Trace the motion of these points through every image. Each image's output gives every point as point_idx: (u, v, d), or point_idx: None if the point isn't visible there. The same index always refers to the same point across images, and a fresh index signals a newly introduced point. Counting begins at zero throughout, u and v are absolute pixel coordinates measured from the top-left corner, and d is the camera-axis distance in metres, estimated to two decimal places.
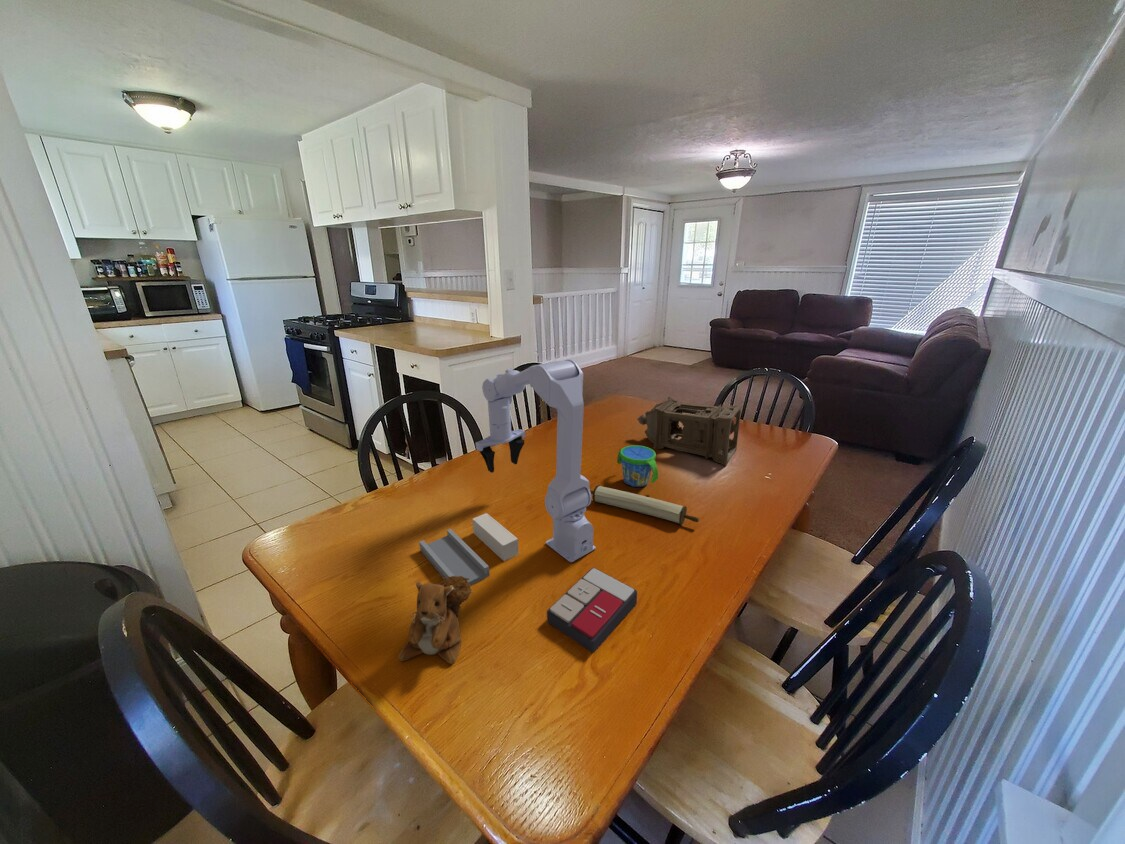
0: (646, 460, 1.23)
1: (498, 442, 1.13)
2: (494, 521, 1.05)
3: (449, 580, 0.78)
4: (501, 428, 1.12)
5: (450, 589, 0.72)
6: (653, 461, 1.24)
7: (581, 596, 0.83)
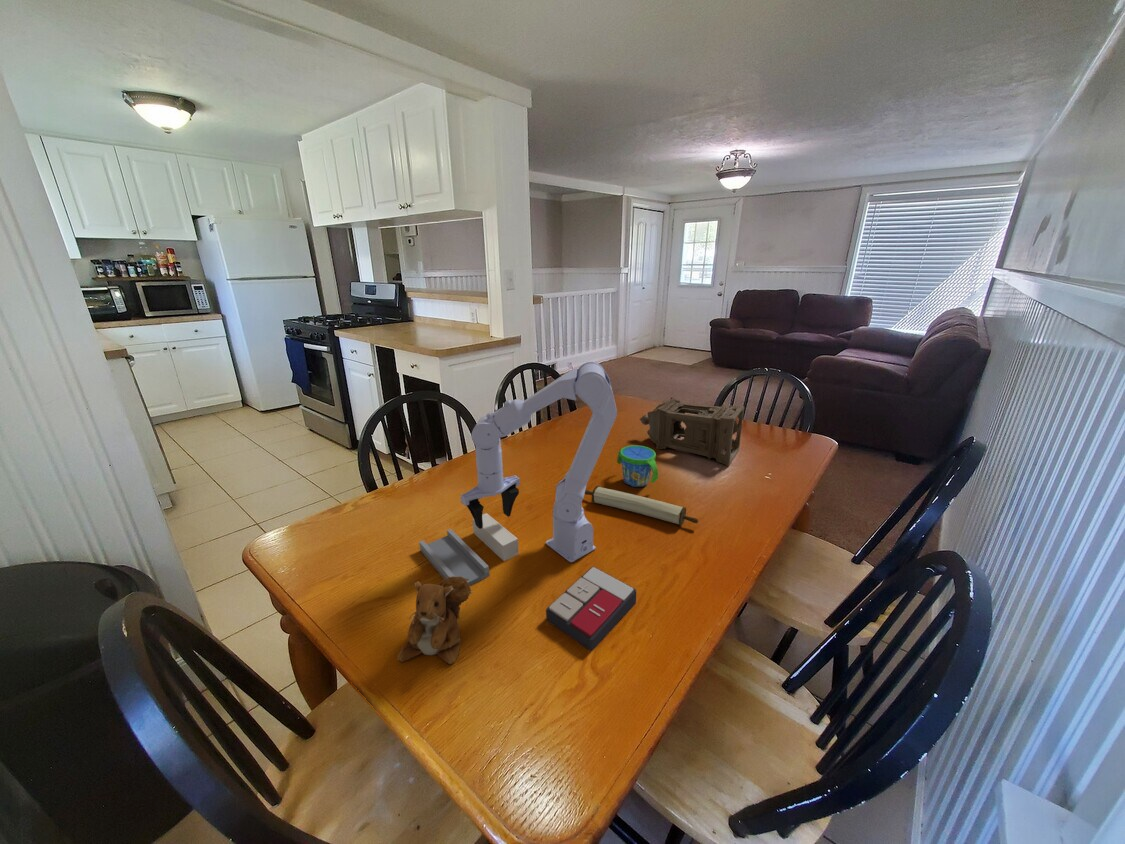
0: (646, 460, 1.23)
1: (487, 494, 0.95)
2: (494, 521, 1.05)
3: (448, 580, 0.78)
4: (491, 478, 0.94)
5: (449, 589, 0.72)
6: (653, 461, 1.24)
7: (581, 594, 0.83)
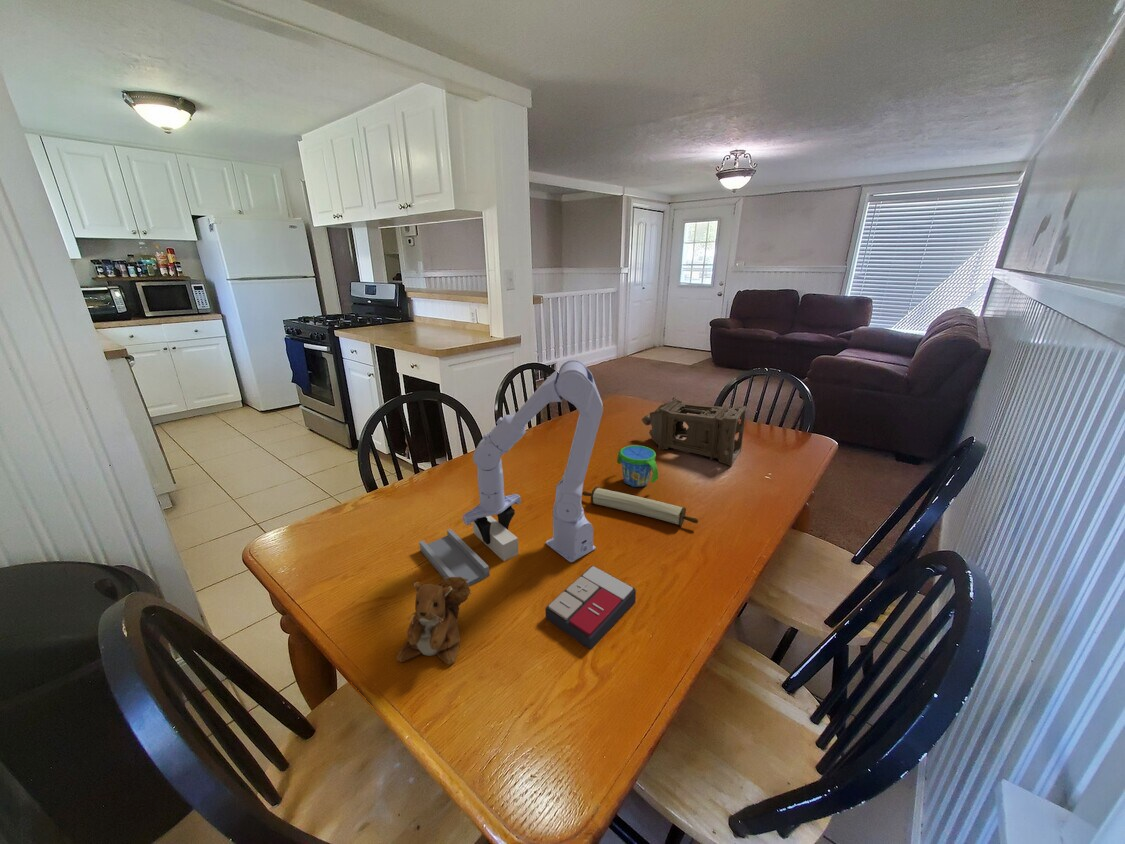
0: (646, 460, 1.23)
1: (489, 514, 0.97)
2: (494, 520, 1.05)
3: (448, 581, 0.78)
4: (492, 498, 0.96)
5: (449, 590, 0.72)
6: (653, 461, 1.24)
7: (580, 593, 0.83)
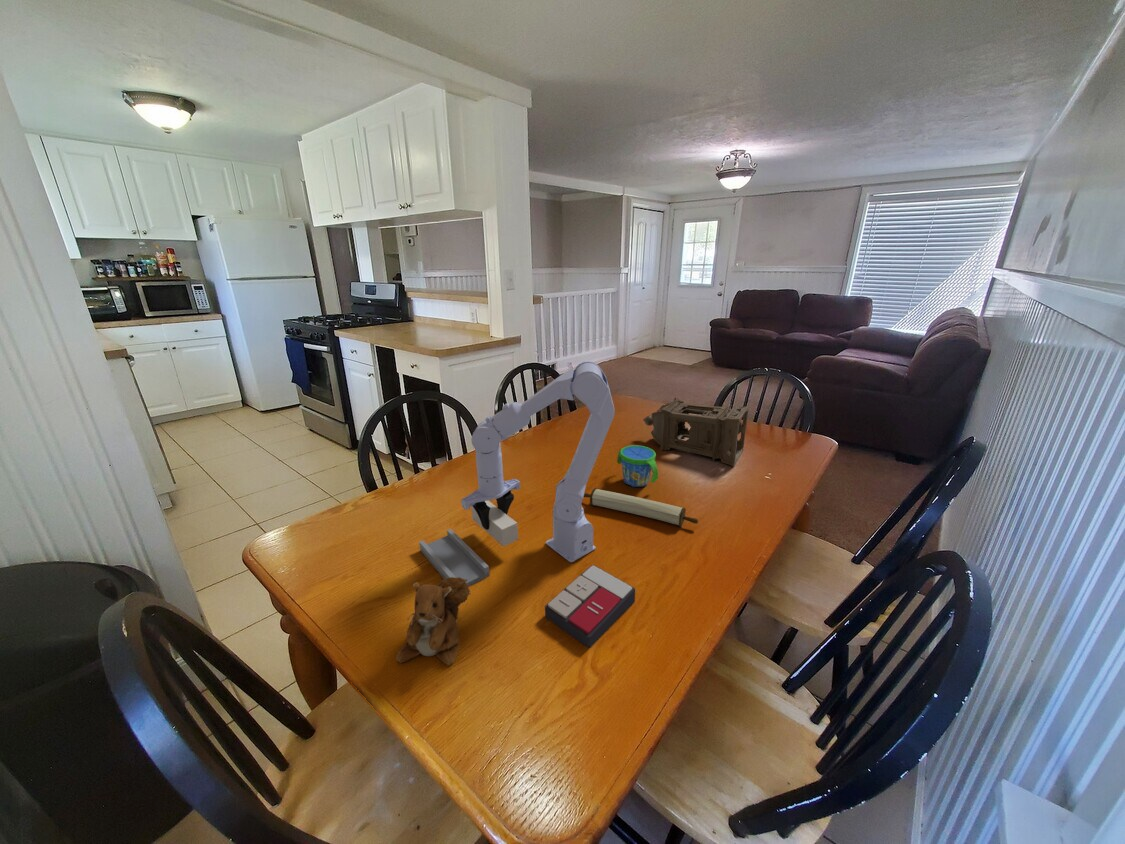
0: (646, 460, 1.23)
1: (488, 498, 0.95)
2: (493, 506, 1.03)
3: (447, 581, 0.78)
4: (491, 482, 0.94)
5: (448, 590, 0.72)
6: (653, 461, 1.24)
7: (580, 592, 0.83)
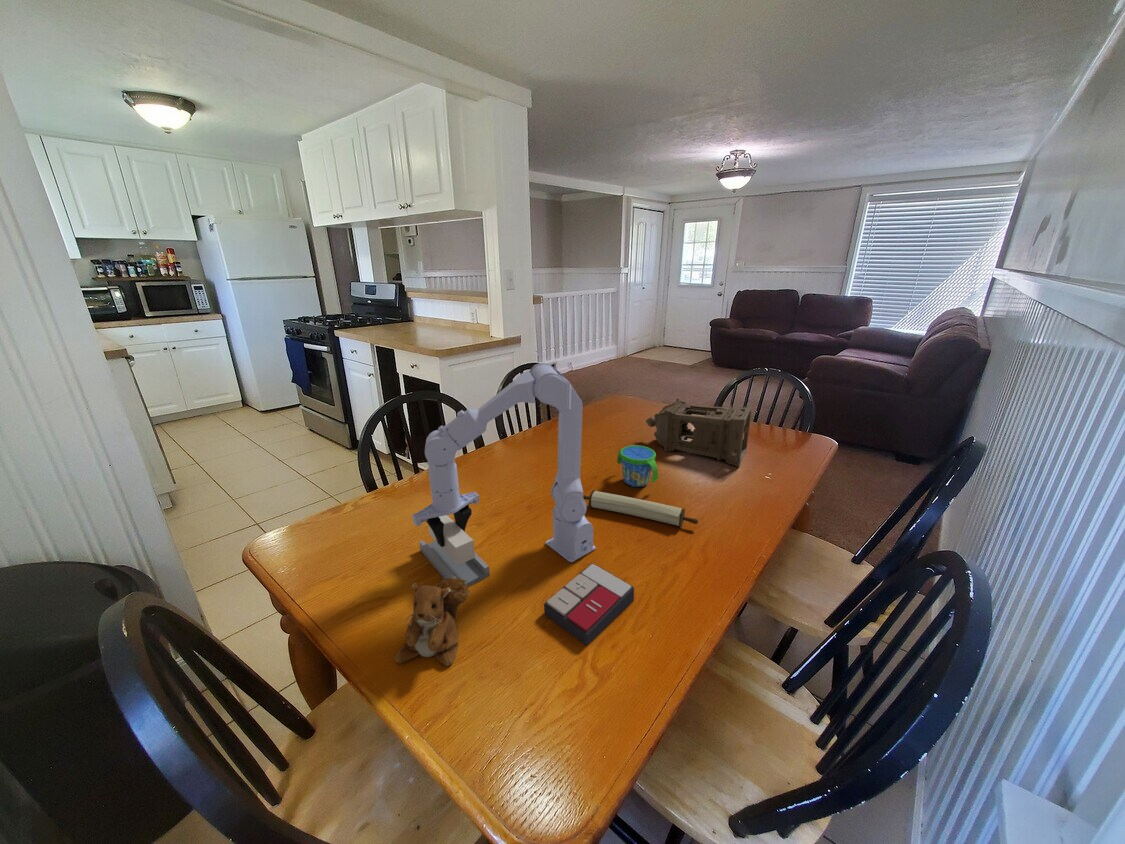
0: (646, 460, 1.23)
1: (441, 514, 0.89)
2: (450, 521, 0.96)
3: (446, 582, 0.77)
4: (445, 496, 0.88)
5: (447, 591, 0.72)
6: (653, 461, 1.24)
7: (579, 590, 0.84)
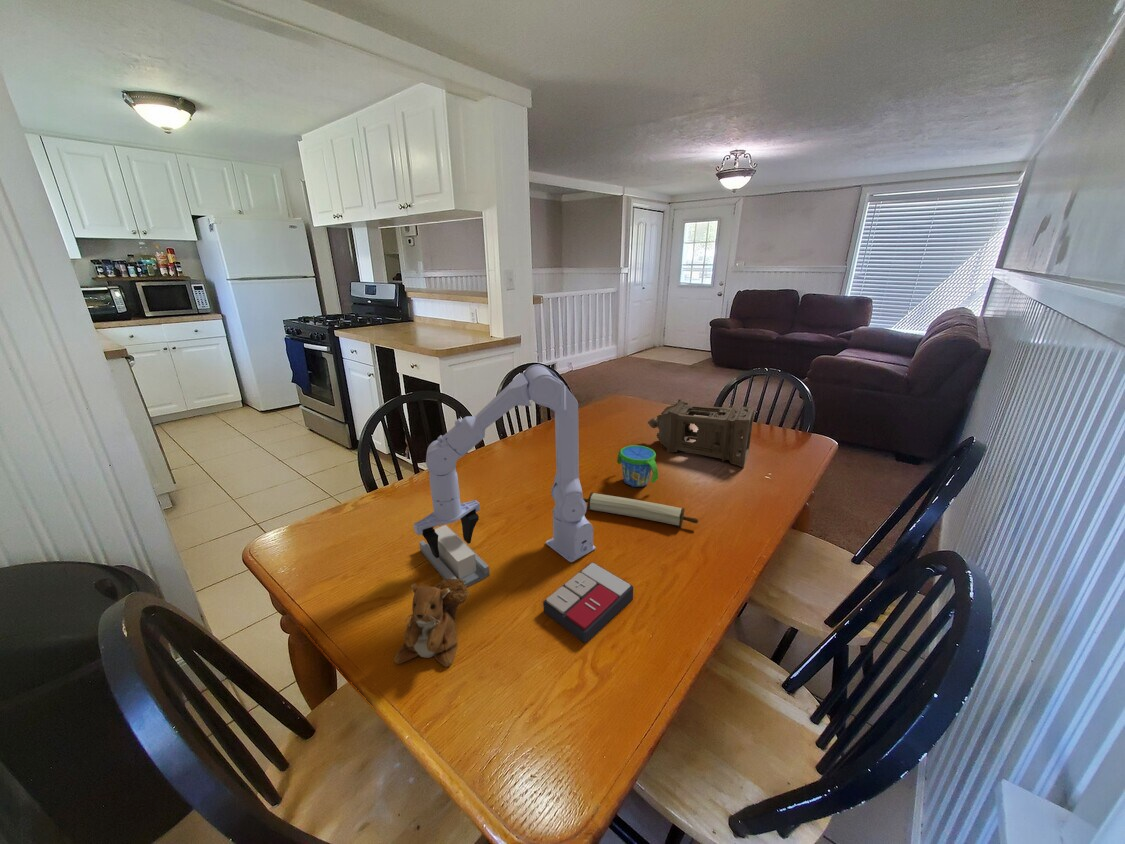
0: (646, 460, 1.23)
1: (442, 522, 0.89)
2: (452, 534, 0.98)
3: (446, 582, 0.77)
4: (446, 505, 0.88)
5: (446, 592, 0.72)
6: (653, 461, 1.24)
7: (578, 588, 0.84)
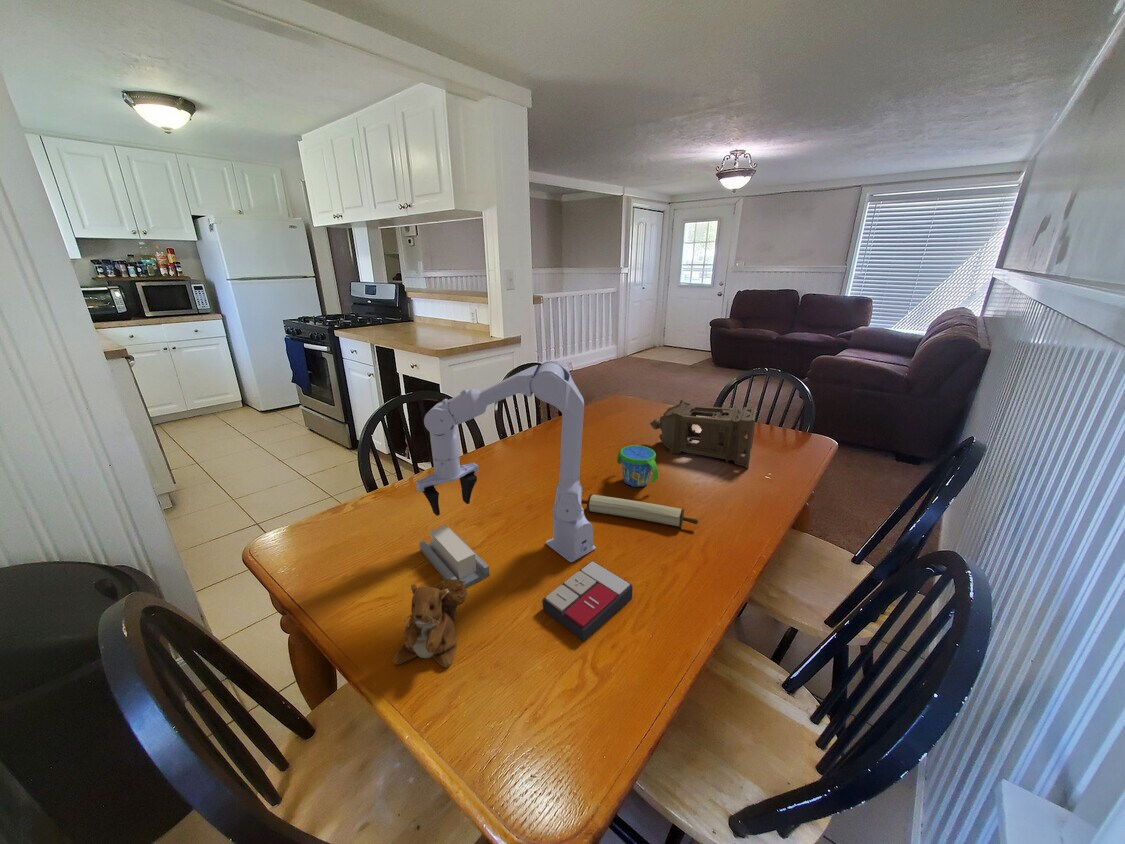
0: (646, 460, 1.23)
1: (443, 481, 0.95)
2: (452, 534, 0.98)
3: (445, 583, 0.77)
4: (446, 464, 0.94)
5: (445, 592, 0.71)
6: (653, 461, 1.24)
7: (577, 587, 0.85)
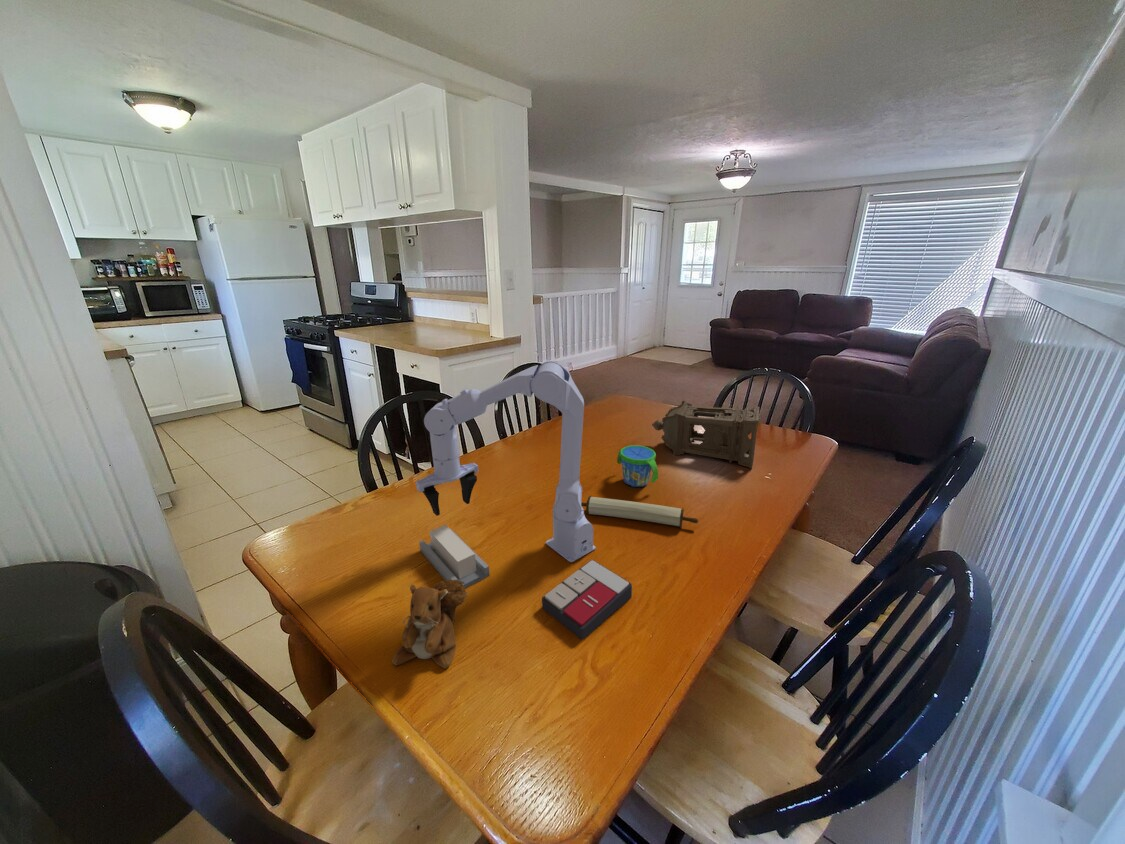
0: (646, 460, 1.23)
1: (443, 481, 0.95)
2: (452, 534, 0.98)
3: (444, 584, 0.77)
4: (446, 464, 0.94)
5: (444, 593, 0.71)
6: (653, 461, 1.24)
7: (577, 585, 0.85)
